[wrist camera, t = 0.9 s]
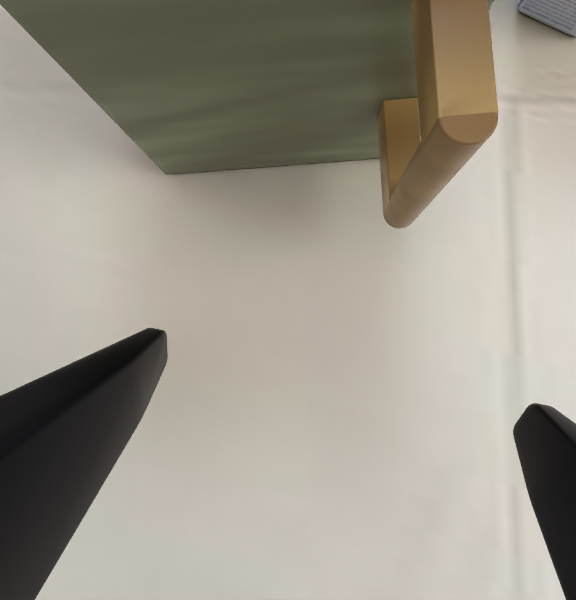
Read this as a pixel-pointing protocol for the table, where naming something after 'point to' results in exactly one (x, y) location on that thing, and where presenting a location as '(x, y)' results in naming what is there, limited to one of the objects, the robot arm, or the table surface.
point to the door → (286, 82)
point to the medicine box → (552, 13)
